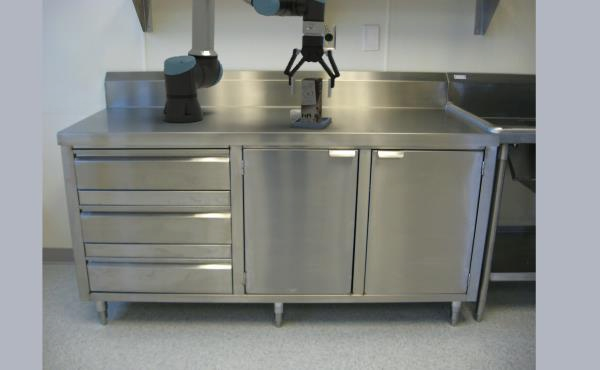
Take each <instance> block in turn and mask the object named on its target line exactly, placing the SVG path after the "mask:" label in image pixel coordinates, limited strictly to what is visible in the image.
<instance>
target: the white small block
mask: <svg viewBox="0 0 600 370" xmlns="http://www.w3.org/2000/svg"><path fill="white" fill-rule="evenodd" d="M289 112H290V113H289V114H290V115H289V117H290V120H292V121H294V120H295V119H297V118H298V117H300V116H301V108H294V109H290V111H289Z"/></svg>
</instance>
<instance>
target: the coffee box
mask: <svg viewBox="0 0 600 370" xmlns="http://www.w3.org/2000/svg"><path fill="white" fill-rule="evenodd" d="M300 83H301V84H300V86H301V87H300V109H301V123H317V124H319V123H320V122H321V121H322V117H323V77H305V78H303V79H301V82H300Z"/></svg>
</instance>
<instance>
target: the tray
mask: <svg viewBox="0 0 600 370" xmlns="http://www.w3.org/2000/svg"><path fill="white" fill-rule="evenodd" d="M332 122H333V121H332V117H331V116H330V117H329V116H322V121H321V122H320V123H319V124H317V123H301V116H300V117H298V118H297V119H295V120H292V121H291V122H290V128H292V127H297V128H296V129H312V130H324V129H326V128H327V127H328V126H329V125H330V124H332Z"/></svg>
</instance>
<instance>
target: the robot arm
mask: <svg viewBox="0 0 600 370" xmlns="http://www.w3.org/2000/svg"><path fill="white" fill-rule="evenodd" d="M241 1H242V2H244V3H246V4H248V5H249V6H251V7H252V8H253V9H254V11H255V12H256V13H257V14H259V15H262V16H263V17H264V16H265V17H272V16H273V17H302V29H301V30H302V32H301V33H302V34H303V35H302V37H301V48H300V49H298V48H297V47H296V48H293V49H292V55H291V57H290V58H289V61H288V63H287V65H286V67H285V69H284V71H283V74H284V75H286V76H287V77H288V86H290V95H291V96H294V95H295V94H296V73H297V72H298V70H299V69H300V68H301V67H302V66H303V65H304V63H306V62H307V63H315V64H316V63H318V64H320V66H321V67H322V68H323V70H324V71H325V73H326V74H327V75H328V77H329V78H328V80H327V82H328V83H327V98H330V99H331V98H332V89H334V88H335V85H336V84H335V81H336V79H337V78H340V76H341V73H340V71H339V69H338V65H337V64H336V61H335V59H334V57H333V50H332V49H328V50H325V49H324V42H325V41H324V39H325V37H324V36H323V35H324V34H325V14H326V13H325V12H326V10H325V9H326V0H241ZM215 9H216V0H191V49H190V50H189V51H188V52H187V55H179V56H171V57H168V58H166V59H165V60H164V61H163V75H164V76H163V77H164V86H165V88H164V89H165V99H166V101H165V104H164V107H163V112H162V120H163V121H164V122H168V123H193V122H198V121H202V120H203V119H204V111H203V110H202V107H201V104H200V102H199V99H198V90H199V89H208V88H211V87H214V86H216V85H217V84H218V83H220V81H221V80H222V77H223V74H224V68H223V64H222V63H221V61H220V60H219V59H218V58H219V54H218V52H217V51H216V50H215V24H216V23H215V20H216V18H215V17H216V14H215V12H216V10H215ZM300 54H301V56H302V57H301V58H300V60H299V61H298V62H297V64H296V65H295V66H294V67H293V65H294V63H295V61H296V59H297V57H298V56H299V55H300ZM324 55H325V56H326V57H327V59H328V61H329V64H330V66H331V68H330V67H329V66H328V64H327V63H326V62H325V59H323V56H324ZM292 67H293V68H292ZM291 69H292V70H291ZM331 69H332V70H331ZM294 75H295V76H294Z"/></svg>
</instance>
